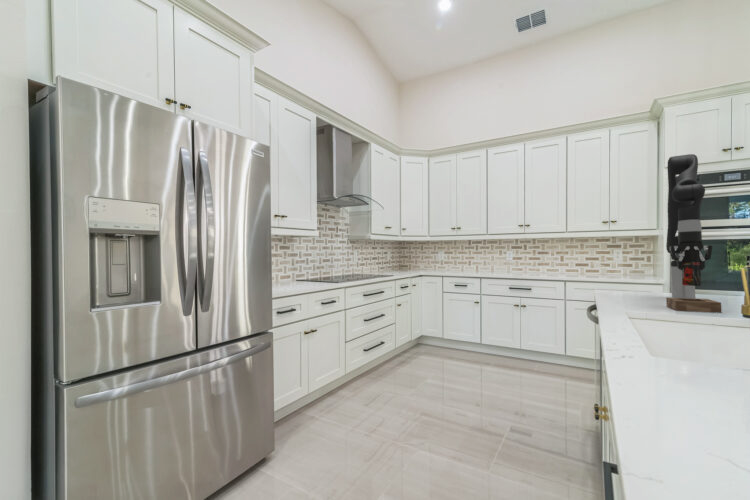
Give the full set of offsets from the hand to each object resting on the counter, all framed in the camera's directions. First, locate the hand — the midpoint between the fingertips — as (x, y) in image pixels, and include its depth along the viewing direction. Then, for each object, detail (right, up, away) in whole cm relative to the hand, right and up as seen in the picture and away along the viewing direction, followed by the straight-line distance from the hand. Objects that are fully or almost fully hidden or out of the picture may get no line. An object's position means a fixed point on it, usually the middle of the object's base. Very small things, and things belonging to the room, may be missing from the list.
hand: (690, 269), depth 148 cm
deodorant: (0, -7, 0) cm, 7 cm away
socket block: (0, -17, 0) cm, 17 cm away
